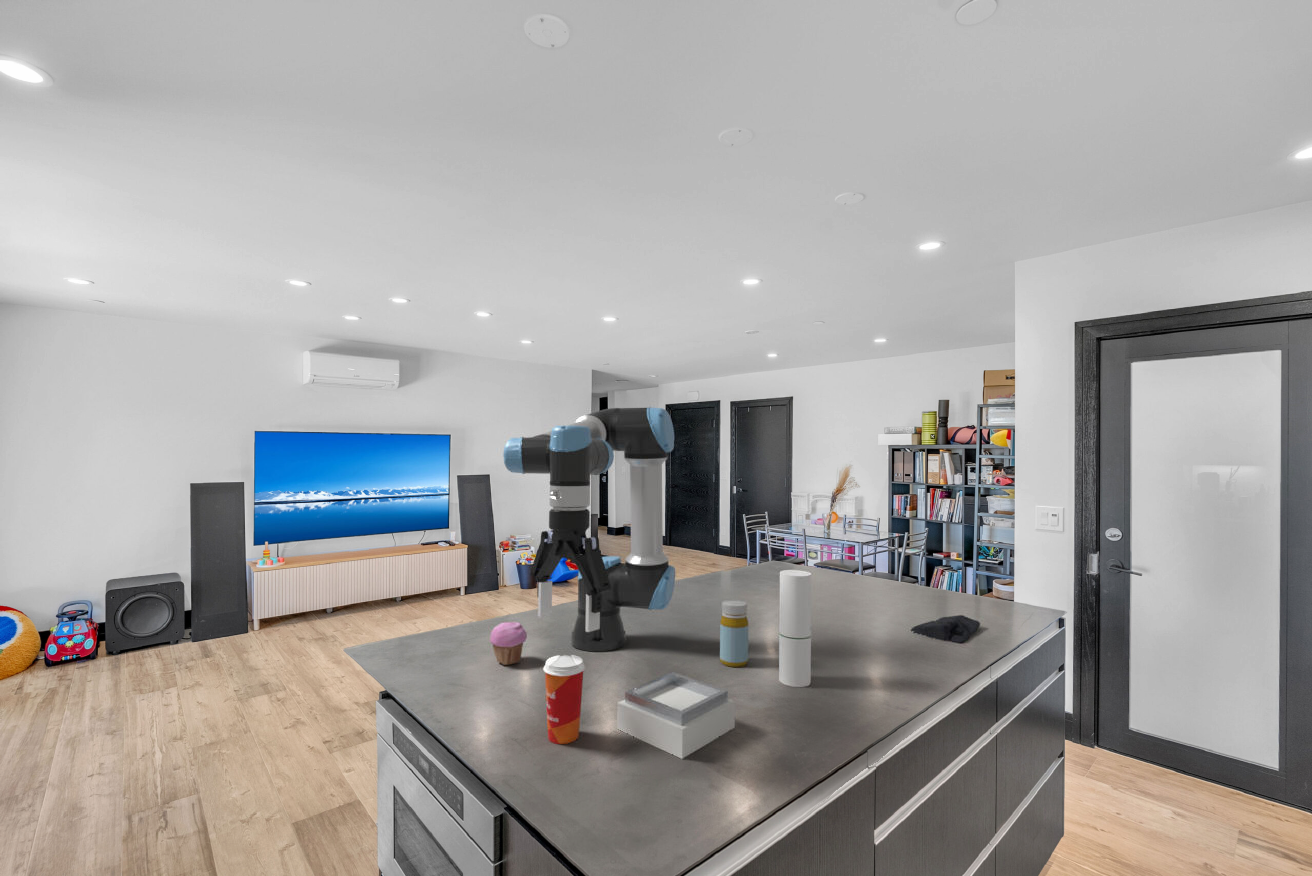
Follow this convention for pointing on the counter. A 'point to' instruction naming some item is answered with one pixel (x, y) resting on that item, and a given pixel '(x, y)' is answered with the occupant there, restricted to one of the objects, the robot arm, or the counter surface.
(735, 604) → the bottle
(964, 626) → the crumpled black cloth
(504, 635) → the cupcake
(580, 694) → the paper cup
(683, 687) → the square tray
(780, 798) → the counter surface
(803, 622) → the cylindrical container
